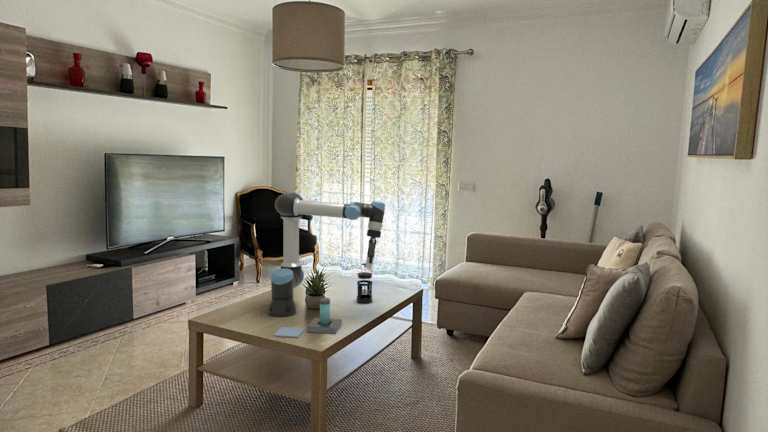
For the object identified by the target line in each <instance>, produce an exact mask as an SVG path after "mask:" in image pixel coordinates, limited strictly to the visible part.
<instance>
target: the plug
mask: <svg viewBox="0 0 768 432" xmlns="http://www.w3.org/2000/svg"><path fill="white" fill-rule="evenodd" d="M319 318H320V324H322V325H330V319H331V298H329V297H321V298H320V299H319Z"/></svg>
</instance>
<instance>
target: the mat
mask: <svg viewBox="0 0 768 432" xmlns="http://www.w3.org/2000/svg"><path fill="white" fill-rule="evenodd" d="M304 330H305V331H306V328H302V327H289V326H281V327H280V328H279V329H278V330H276V332H275V333H274V334H273V337H274V336H279V337H278V338H288V337H294V338H293V339H299V338H300V336H301V335H302V334H303V333H304V332H305V331H304ZM298 337H299V338H298Z"/></svg>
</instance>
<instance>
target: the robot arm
mask: <svg viewBox="0 0 768 432" xmlns="http://www.w3.org/2000/svg"><path fill="white" fill-rule="evenodd" d="M385 207H386V204H385V203H384V202H383V201H378V200H377V201H376V200H372V201H371V203H363V202H358V201H350V203H348V204H347V203H338V202H337V203H336V202H327V201H316V200H306V199H305V200H304V198H303V196H302V195H300V194H299V193H297V192H288V193H287V192H286V193H283V194H281V195H279V196H278V197H277V198H276V199H275V202H274V208H275V210H276V212H277V213H279V214H280V219H282V220H283V247H282V248H283V260H282V261H283V262H282V263H281V264H280V268H278V269H275V270H274V271H272V272H271V276H270V280H271V283H270V284H271V285H270V287H271V290H270V291H271V300H270V303H269V307H268V309H267V311H268V315H269V316H272V317H276V316H277V318H279V317H281V318H283V317H291V316H294V315H296V314H297V313H298V312H297V306H296V302H295V299H294V289H295V288H297V287H299V286H300V285H301V284H302V282H303V281H304V277H305V273H304V271H303V269H302V263H301V262H300V260H299V259H300V219H302V218H303V215H306V216H319V217H327V218H328V217H329V218H340V219H347V220H351V221H356V220H358V219H359V218H367V219H368V225H367V231H366V236H367V237H370V238H369V240H368V246H367V247H368V249H367V253H366V260H365V261H366V262H365V263H366V266H365V267H364V268H365V269H366V270H368V271H369V270H370V271H372V269H373V265H374V258H375V252H376V251H375V250H376V247H377V239H376V238H378V239H380V238H381V234H382V228H383V227H384V224H383V222H384V217H385V212H386V211H385V209H386V208H385Z"/></svg>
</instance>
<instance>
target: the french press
mask: <svg viewBox="0 0 768 432" xmlns="http://www.w3.org/2000/svg"><path fill="white" fill-rule="evenodd" d="M361 266H364V267H363V268H366V267H365V266H366V262H365V263H364V262H363V263H361ZM357 278H358V279H360V280H357V281H356V285H357V295H356V303H358V304H361V305H362V304H363V305H368V304H372V303H373V281H372V280H370V279H372V278H373V273H372V272H367V271H362V272H358V273H357ZM363 287H364V288H363Z"/></svg>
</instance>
